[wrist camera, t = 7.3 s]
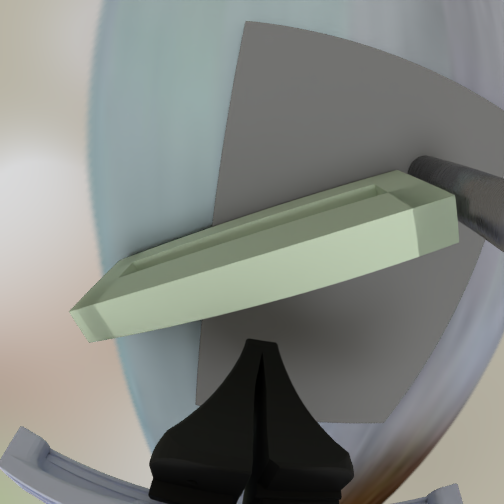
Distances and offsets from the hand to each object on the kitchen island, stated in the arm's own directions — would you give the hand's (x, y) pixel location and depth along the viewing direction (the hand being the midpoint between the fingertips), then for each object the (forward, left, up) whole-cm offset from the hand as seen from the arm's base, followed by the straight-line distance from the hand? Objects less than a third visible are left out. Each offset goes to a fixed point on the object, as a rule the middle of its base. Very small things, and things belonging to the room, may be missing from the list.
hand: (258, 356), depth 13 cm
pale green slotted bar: (+5, +1, -2) cm, 6 cm away
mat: (+3, -4, -3) cm, 6 cm away
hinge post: (+9, -6, -3) cm, 11 cm away
